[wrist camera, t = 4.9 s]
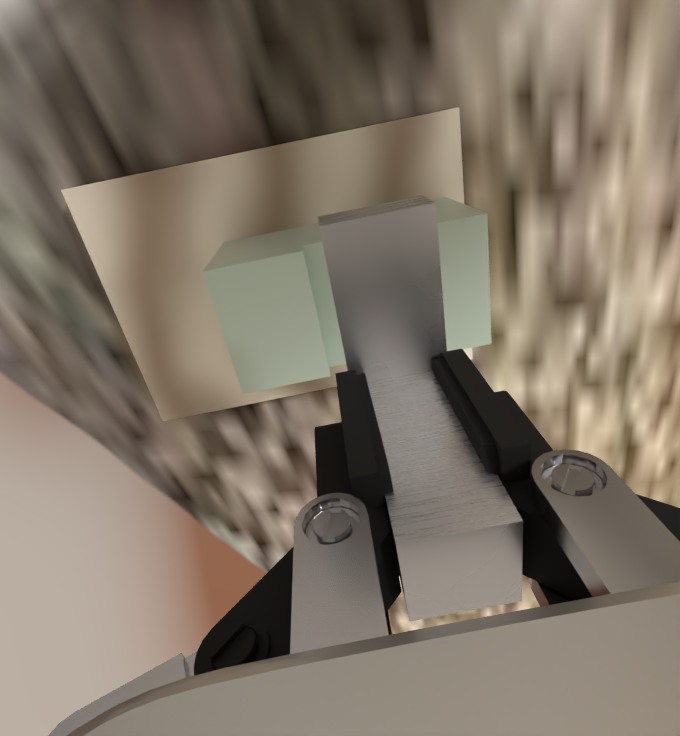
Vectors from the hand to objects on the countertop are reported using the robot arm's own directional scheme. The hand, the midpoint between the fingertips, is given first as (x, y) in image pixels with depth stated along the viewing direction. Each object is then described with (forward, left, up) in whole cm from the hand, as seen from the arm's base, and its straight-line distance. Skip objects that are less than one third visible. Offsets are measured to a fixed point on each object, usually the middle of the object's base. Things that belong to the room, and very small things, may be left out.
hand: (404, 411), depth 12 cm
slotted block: (0, 0, -15) cm, 15 cm away
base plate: (+3, 0, -17) cm, 17 cm away
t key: (0, 0, -1) cm, 1 cm away
